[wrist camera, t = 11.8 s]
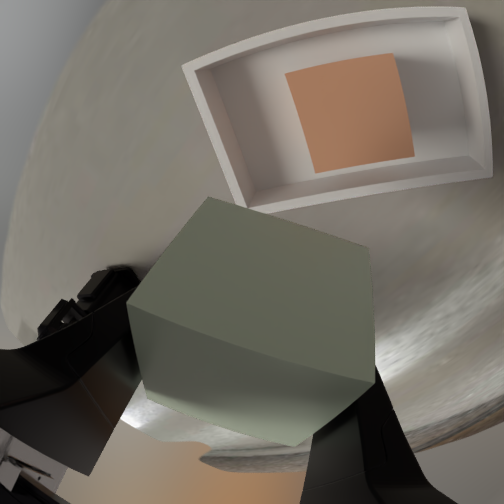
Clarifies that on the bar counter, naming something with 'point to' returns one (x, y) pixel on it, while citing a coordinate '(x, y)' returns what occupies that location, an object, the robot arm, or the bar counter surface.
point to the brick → (352, 112)
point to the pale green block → (256, 324)
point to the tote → (332, 50)
